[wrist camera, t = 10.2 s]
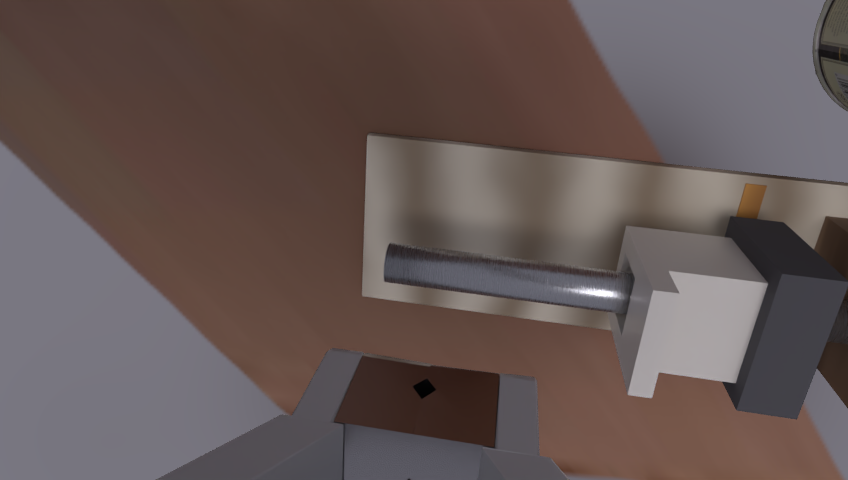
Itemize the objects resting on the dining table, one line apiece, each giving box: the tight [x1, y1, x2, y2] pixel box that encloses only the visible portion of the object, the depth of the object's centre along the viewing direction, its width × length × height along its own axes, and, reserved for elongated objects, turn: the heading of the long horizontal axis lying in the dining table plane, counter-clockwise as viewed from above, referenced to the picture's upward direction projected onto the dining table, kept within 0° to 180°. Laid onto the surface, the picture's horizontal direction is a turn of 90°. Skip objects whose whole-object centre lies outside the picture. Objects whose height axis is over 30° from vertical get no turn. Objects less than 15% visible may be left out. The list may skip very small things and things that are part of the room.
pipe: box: [384, 242, 848, 344], centre depth 35 cm, size 26×3×3 cm, turn 86°
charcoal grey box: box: [722, 216, 848, 419], centre depth 34 cm, size 3×8×8 cm, turn 176°
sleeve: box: [607, 226, 768, 398], centre depth 33 cm, size 6×6×8 cm
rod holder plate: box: [362, 133, 848, 408], centre depth 36 cm, size 35×12×11 cm, turn 86°
